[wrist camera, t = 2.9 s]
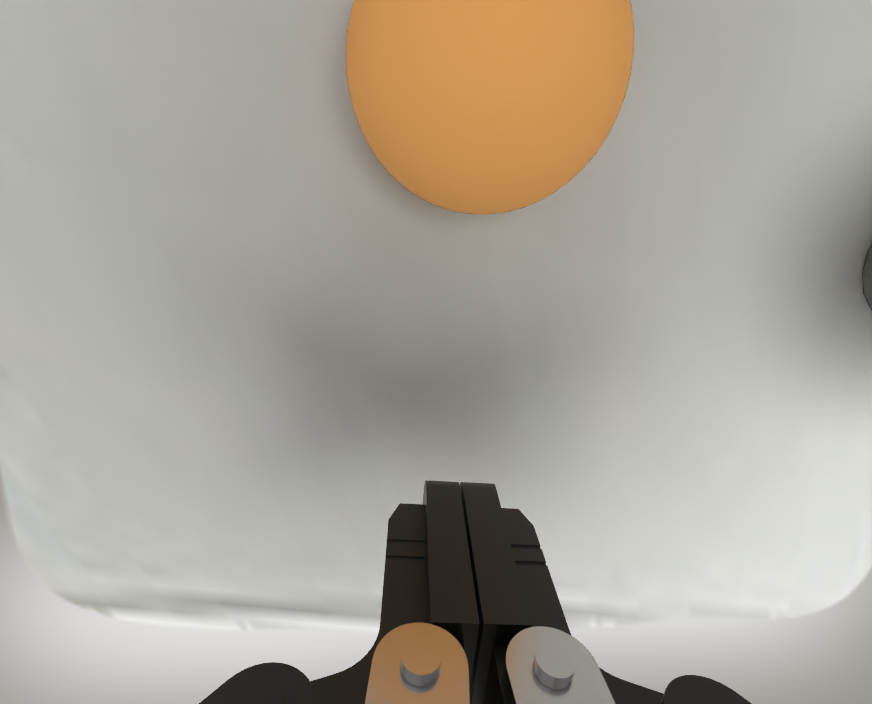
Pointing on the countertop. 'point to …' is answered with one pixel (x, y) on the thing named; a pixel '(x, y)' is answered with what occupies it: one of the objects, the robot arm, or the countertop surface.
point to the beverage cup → (868, 277)
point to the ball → (487, 93)
